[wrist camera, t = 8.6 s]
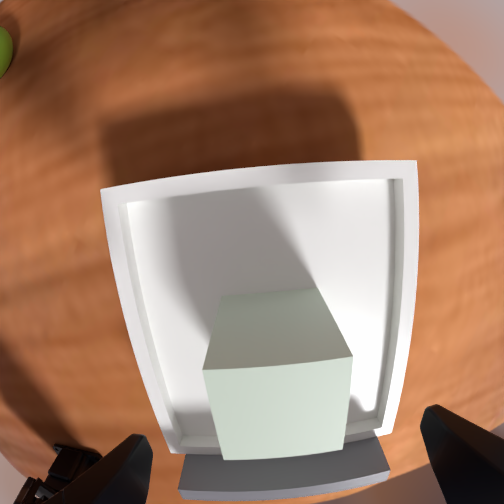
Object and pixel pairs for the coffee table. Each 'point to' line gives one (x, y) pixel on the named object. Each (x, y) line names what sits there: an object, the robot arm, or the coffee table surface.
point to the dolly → (269, 280)
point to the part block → (277, 375)
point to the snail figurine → (5, 50)
